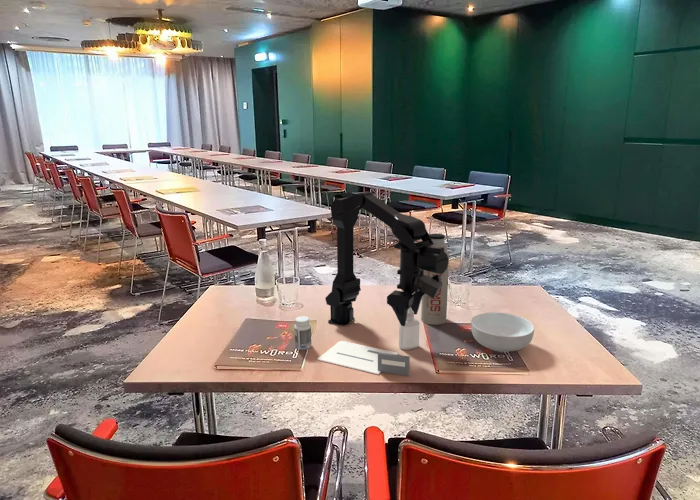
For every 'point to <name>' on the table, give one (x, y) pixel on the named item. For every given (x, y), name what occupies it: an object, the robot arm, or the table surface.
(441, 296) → the thermos bottle
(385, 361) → the gray rectangular block
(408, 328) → the white plastic bottle
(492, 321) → the cereal bowl
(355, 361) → the paper sheet
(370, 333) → the table surface
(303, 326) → the pill bottle
